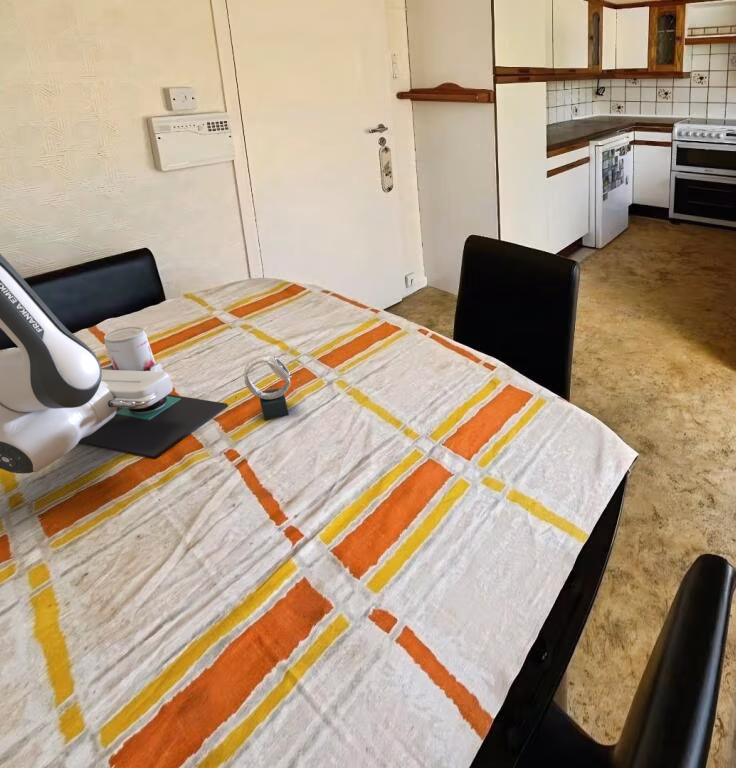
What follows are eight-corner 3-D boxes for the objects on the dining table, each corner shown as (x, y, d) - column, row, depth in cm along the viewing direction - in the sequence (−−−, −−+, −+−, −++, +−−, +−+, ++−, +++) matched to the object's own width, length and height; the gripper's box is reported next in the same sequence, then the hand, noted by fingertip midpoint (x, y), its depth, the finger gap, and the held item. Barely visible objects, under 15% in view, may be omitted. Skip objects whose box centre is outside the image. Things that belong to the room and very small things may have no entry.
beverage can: (173, 404, 118) (150, 332, 111) (137, 418, 114) (110, 344, 107) (159, 394, 122) (136, 323, 115) (123, 406, 118) (97, 334, 111)
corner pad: (114, 414, 116) (114, 413, 116) (148, 393, 123) (148, 393, 123) (148, 420, 114) (148, 419, 114) (181, 399, 121) (180, 398, 121)
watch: (299, 412, 116) (288, 359, 111) (254, 422, 114) (240, 369, 108) (296, 399, 121) (285, 348, 116) (252, 408, 118) (238, 356, 113)
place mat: (64, 441, 110) (63, 438, 109) (145, 392, 125) (144, 390, 124) (155, 458, 104) (154, 455, 104) (228, 406, 119) (227, 403, 119)
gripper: (136, 390, 101) (186, 352, 113) (23, 384, 103) (83, 348, 115) (148, 423, 104) (195, 383, 116) (37, 417, 106) (95, 378, 118)
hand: (138, 366), depth 115 cm, fingers closed on beverage can, 6 cm apart
